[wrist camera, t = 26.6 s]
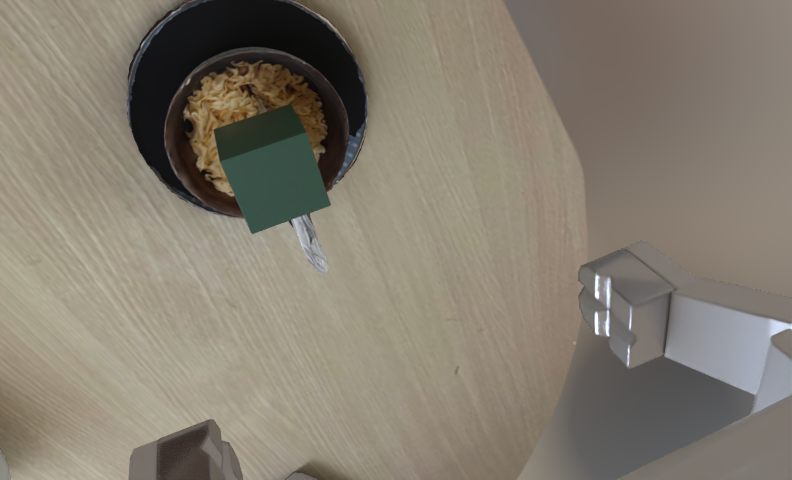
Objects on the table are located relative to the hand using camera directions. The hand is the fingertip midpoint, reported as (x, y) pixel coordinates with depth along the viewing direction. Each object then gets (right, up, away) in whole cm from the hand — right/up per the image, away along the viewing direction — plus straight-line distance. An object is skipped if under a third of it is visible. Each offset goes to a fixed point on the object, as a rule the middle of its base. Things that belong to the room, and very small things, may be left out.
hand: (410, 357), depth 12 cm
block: (-8, +8, +21) cm, 24 cm away
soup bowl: (-10, +11, +26) cm, 30 cm away
